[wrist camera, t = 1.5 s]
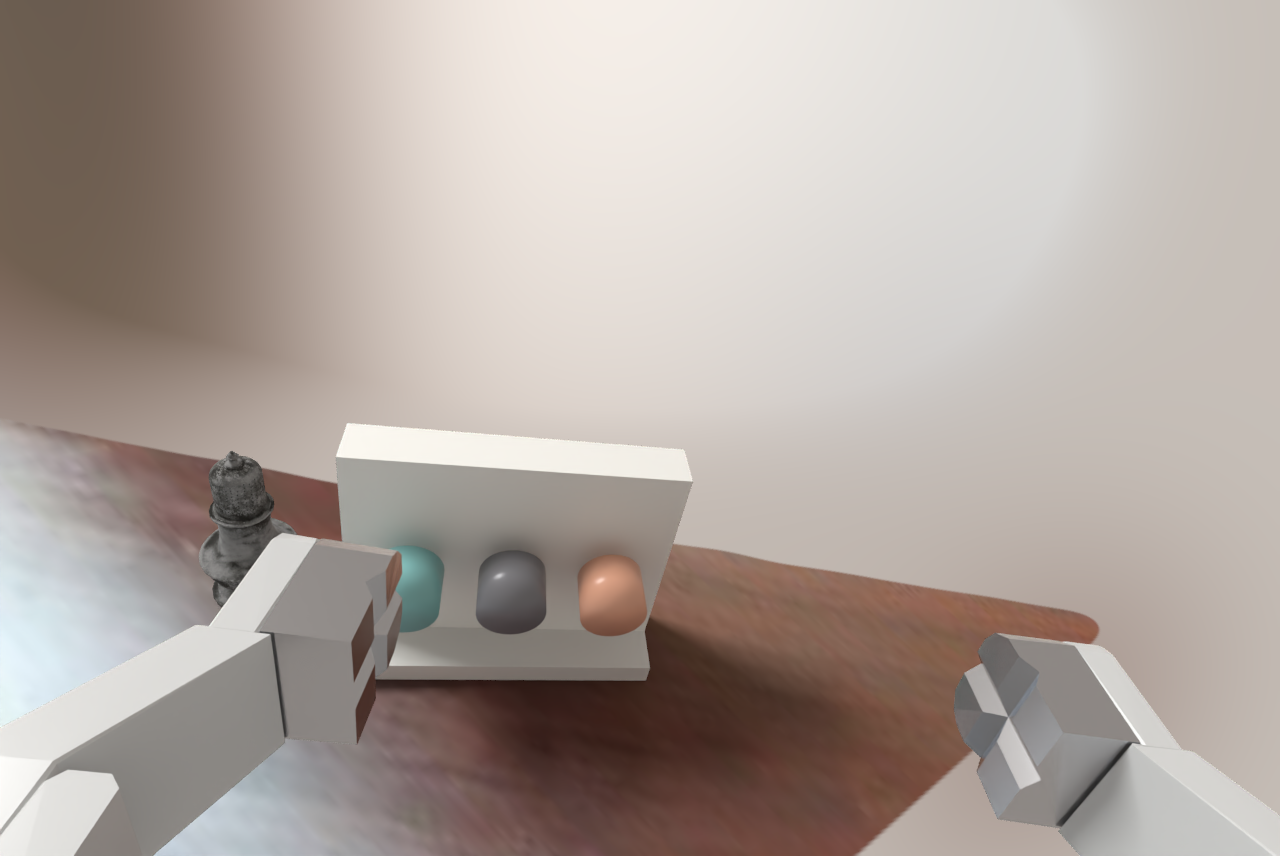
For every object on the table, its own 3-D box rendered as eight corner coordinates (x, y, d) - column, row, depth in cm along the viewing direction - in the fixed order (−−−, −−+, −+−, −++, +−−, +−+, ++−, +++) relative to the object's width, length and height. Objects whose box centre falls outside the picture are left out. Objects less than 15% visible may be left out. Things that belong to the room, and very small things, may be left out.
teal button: (365, 631, 40) (362, 585, 37) (374, 589, 42) (372, 543, 40) (438, 633, 40) (440, 587, 38) (443, 592, 43) (445, 547, 40)
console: (340, 679, 44) (322, 495, 35) (358, 603, 49) (347, 423, 40) (645, 680, 49) (702, 517, 39) (635, 610, 53) (684, 449, 44)
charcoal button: (473, 633, 41) (477, 589, 39) (476, 592, 43) (480, 548, 41) (542, 635, 42) (550, 591, 39) (541, 595, 44) (549, 551, 42)
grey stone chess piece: (305, 608, 48) (287, 478, 41) (205, 625, 46) (168, 490, 38) (301, 545, 52) (285, 417, 45) (210, 558, 50) (177, 425, 43)
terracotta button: (575, 635, 42) (585, 592, 40) (573, 596, 44) (582, 553, 42) (639, 636, 43) (653, 595, 41) (634, 597, 45) (646, 556, 43)
